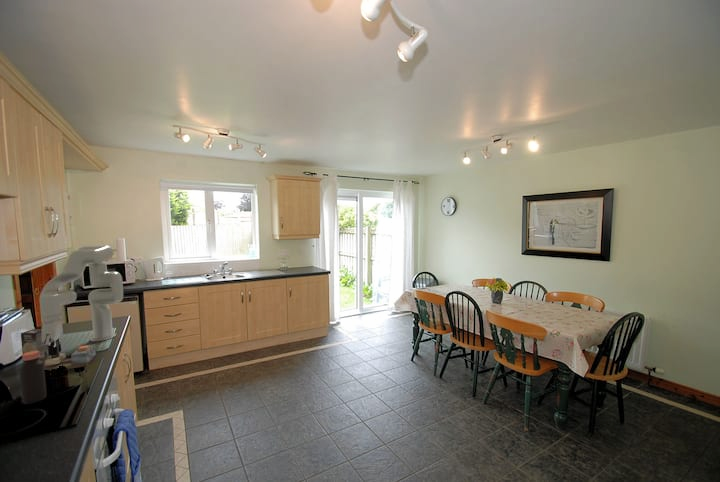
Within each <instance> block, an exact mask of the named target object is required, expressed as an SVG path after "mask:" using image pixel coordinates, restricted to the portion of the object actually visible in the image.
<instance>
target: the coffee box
mask: <svg viewBox="0 0 720 482" xmlns="http://www.w3.org/2000/svg"><path fill="white" fill-rule="evenodd" d="M20 339H21V351H22V354H24V353H27V352H31V351H39V352H40V356H42V355H46V360H47V359H48V358H50V357H51V356H49V354H48V347H47V346H46V345H45V344H46V342H45V343H42V328H41V329H39V328H38V329H37V328H33V329H30V330H27V331H26V330H25V331H23V332H20Z"/></svg>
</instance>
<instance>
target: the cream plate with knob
mask: <svg viewBox="0 0 720 482" xmlns="http://www.w3.org/2000/svg"><path fill="white" fill-rule="evenodd" d="M56 347H57V355H51V356H50V358H48V359H46V361H45V366H48V365H54V364H59V363H60V362H61V361H62V360H63V359H67V357H66V353H65V352H64V353H60V352H59V344H58V341H56Z"/></svg>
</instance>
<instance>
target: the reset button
mask: <svg viewBox="0 0 720 482" xmlns="http://www.w3.org/2000/svg"><path fill="white" fill-rule="evenodd" d="M89 345H90V344H88V345H81V346H79V347H78V348H77V349H78V351H83V350H88V349H89Z"/></svg>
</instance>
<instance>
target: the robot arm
mask: <svg viewBox="0 0 720 482" xmlns="http://www.w3.org/2000/svg"><path fill="white" fill-rule="evenodd" d="M113 256H114V249H113V247H111V246H109V245H91V246H89V245H87V246H81V247H79V248H78V249H76V250H74V251H72V252H71V253H70V254H69V256H68V259H67V260H66V263H65V264H64V267H63V268H62V272H60V273H58V274H57V275H56V276H54V277H53V278H51V279H50V280H49V281H48V282H47V283H46V284H45V285H44V286H43V288H42V291H41V292H40V295H39V309H40V310H39V311H40V320H41V329H42V343H45V342H46V344H45V345H46V346H47V347H48V354H49V356H50V357H51V355H57V347H56V341H58V344H59V353H60V352H62V342H61V339H62V337H63V335H64V327H63V322H62V320H63V309H62V306H66V305H70V304H73V303H74V302H75V301H76V300H77V299H78V298H77V297H78V293H77V292H76V291H74V290H71V289H70V290H69V289H68V290H67V289H66V290H63V289H62V290H58V289H59V288H61V287H63V286H64V285H66V284H69V283H71V282H74V281H77V280H78V279H81V278H82V277H83V274H84V272H85V269H86V267H87V265H88V267H89V268H88V270H89V271H88V272H89V281H90V286H91V287H93V288H98V289H93V290H92V291H90V292H89V294H88V297H87V299H88V303H89V305H90V311H91V323H92V334H93V336H91V337H90V340H89V341H91V342H101V341H106V340H110V339H113V338H115V337H116V335H117V333H116V332H114V331H113V319H112V309H111V307H110V304H118V303H120V302H121V303H122V301H123V300H124V299H123V298H124V284H123V276H122V275H121V273H120V272H119V271H108V266H107V265H108V264H107V263H106V261H108V260H110V259H111V258H112V257H113ZM107 287H109V288H107Z"/></svg>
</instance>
